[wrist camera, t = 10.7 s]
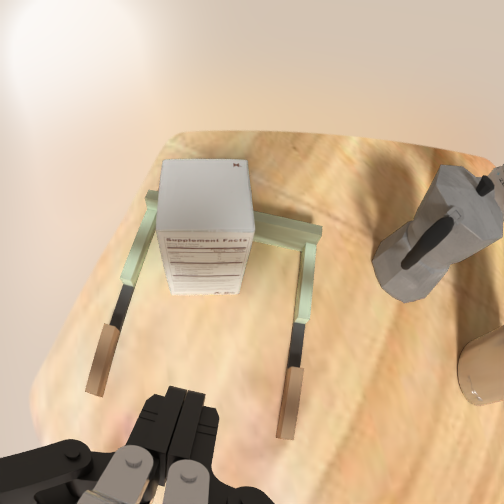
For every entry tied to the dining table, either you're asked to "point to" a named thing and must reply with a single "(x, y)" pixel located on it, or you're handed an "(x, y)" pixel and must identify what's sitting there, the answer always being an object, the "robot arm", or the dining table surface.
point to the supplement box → (205, 224)
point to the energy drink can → (498, 186)
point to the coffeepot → (439, 234)
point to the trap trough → (266, 232)
